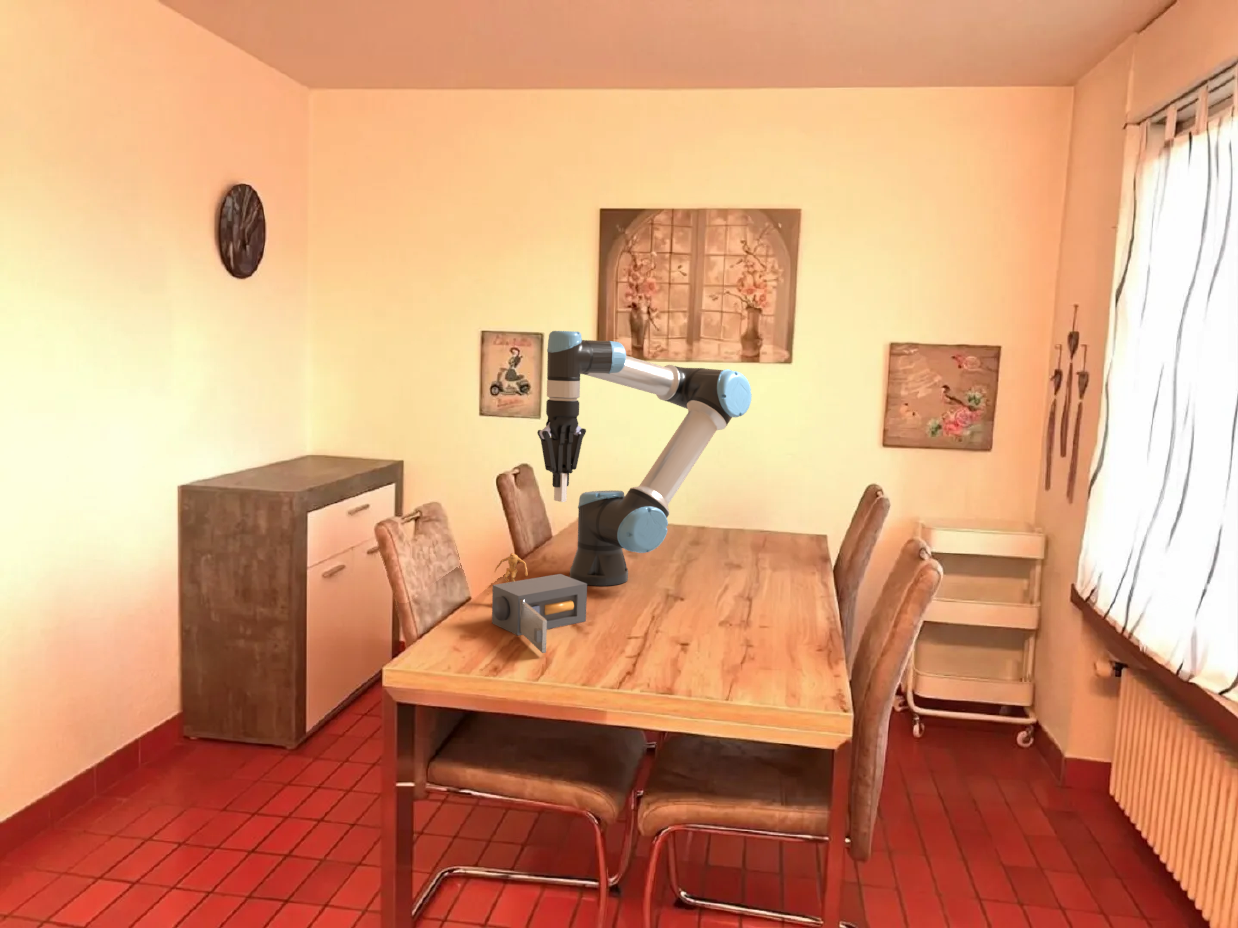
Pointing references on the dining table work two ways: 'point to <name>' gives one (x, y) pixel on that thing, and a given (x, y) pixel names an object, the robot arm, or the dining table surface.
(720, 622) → the dining table surface
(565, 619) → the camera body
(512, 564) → the figurine
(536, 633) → the door
